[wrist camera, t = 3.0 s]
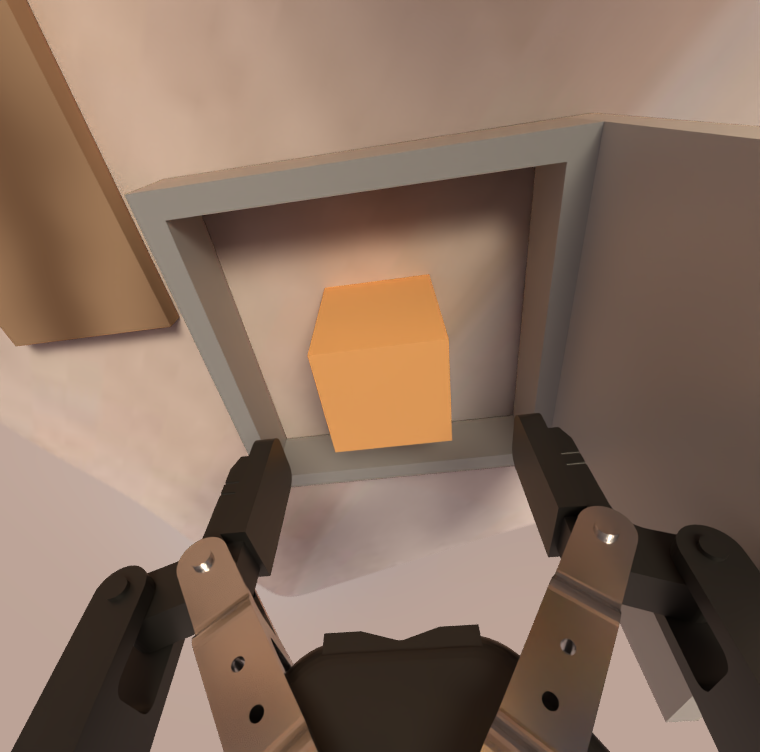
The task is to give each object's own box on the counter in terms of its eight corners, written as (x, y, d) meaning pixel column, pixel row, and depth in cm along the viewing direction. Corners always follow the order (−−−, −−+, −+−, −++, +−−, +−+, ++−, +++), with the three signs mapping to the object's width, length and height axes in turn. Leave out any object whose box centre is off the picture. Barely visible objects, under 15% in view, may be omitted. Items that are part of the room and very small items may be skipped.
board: (30, 336, 20) (15, 346, 19) (-204, 26, 13) (-243, 21, 12) (179, 316, 19) (170, 326, 19) (17, -18, 12) (-7, -25, 12)
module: (344, 371, 22) (335, 452, 17) (324, 287, 19) (307, 355, 14) (434, 361, 21) (452, 440, 16) (428, 273, 18) (448, 338, 14)
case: (275, 451, 25) (194, 745, 14) (162, 179, 16) (-377, 393, 4) (544, 423, 24) (697, 720, 13) (593, 112, 15) (1346, 172, 3)
